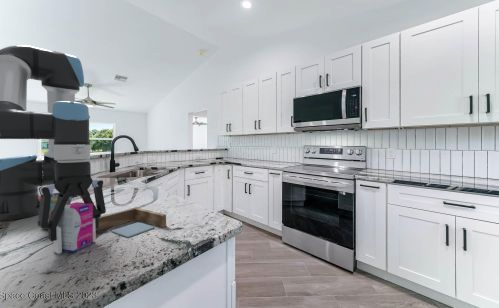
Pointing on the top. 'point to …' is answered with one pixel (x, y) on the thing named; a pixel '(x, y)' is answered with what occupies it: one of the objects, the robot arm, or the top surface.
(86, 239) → the supplement box
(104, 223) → the wooden l-shaped corner
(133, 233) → the pad
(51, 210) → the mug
